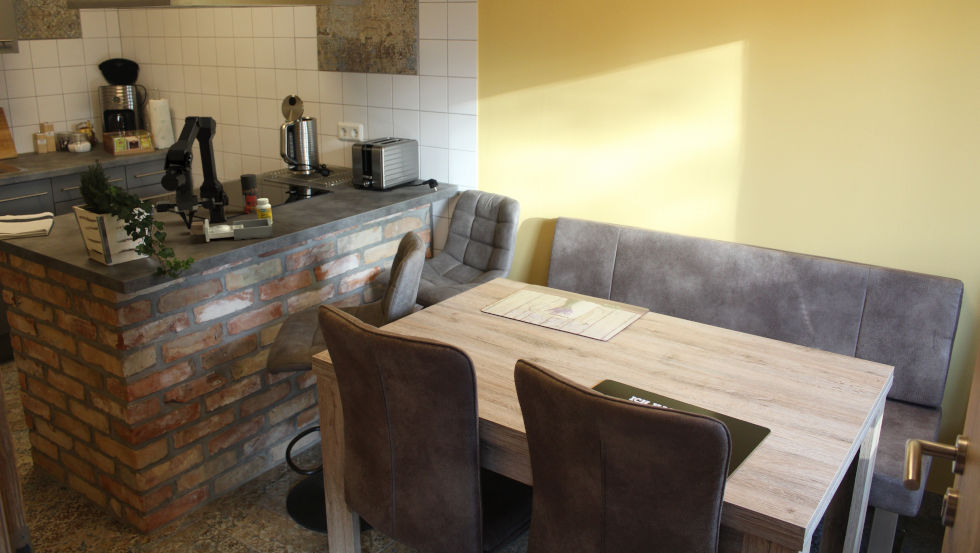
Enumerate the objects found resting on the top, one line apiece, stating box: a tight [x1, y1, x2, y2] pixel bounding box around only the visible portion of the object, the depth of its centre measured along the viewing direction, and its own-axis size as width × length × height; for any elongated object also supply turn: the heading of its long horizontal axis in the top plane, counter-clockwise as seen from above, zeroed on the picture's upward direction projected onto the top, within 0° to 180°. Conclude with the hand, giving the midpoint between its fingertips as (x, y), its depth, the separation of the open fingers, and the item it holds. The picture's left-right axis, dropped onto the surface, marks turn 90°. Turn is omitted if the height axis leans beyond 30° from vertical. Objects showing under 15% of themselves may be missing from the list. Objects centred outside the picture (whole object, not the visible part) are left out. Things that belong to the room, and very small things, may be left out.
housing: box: [232, 218, 274, 241], centre depth 261 cm, size 12×13×4 cm
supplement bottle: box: [256, 197, 274, 225], centre depth 274 cm, size 5×5×10 cm
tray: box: [203, 218, 243, 242], centre depth 258 cm, size 12×13×5 cm
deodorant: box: [240, 173, 259, 215], centre depth 291 cm, size 6×6×15 cm
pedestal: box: [189, 221, 205, 236], centre depth 263 cm, size 4×4×4 cm
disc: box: [211, 224, 230, 233], centre depth 257 cm, size 6×6×2 cm
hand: (189, 229), depth 254 cm, fingers closed
